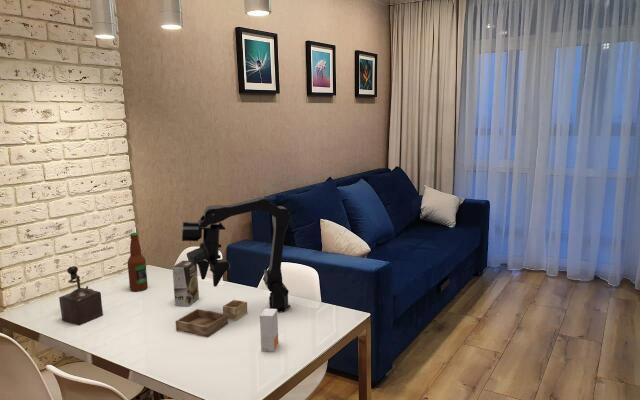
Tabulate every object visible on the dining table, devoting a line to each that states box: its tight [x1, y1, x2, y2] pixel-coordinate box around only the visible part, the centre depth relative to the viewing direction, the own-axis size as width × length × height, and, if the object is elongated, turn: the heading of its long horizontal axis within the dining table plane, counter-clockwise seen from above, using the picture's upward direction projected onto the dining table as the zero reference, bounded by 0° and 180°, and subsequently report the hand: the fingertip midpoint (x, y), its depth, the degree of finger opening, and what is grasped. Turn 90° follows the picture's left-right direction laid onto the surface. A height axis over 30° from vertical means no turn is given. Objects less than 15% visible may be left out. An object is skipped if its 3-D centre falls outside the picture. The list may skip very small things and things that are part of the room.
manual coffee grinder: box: [58, 265, 104, 326], centre depth 181 cm, size 16×11×18 cm
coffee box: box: [172, 260, 200, 307], centre depth 193 cm, size 9×6×16 cm
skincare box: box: [259, 307, 279, 353], centre depth 153 cm, size 6×4×12 cm
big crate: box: [175, 308, 229, 338], centre depth 170 cm, size 14×12×4 cm
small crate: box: [222, 299, 249, 321], centre depth 180 cm, size 6×7×4 cm
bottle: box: [127, 232, 149, 293], centre depth 208 cm, size 7×7×25 cm
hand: (209, 282), depth 176 cm, fingers open, 9 cm apart
